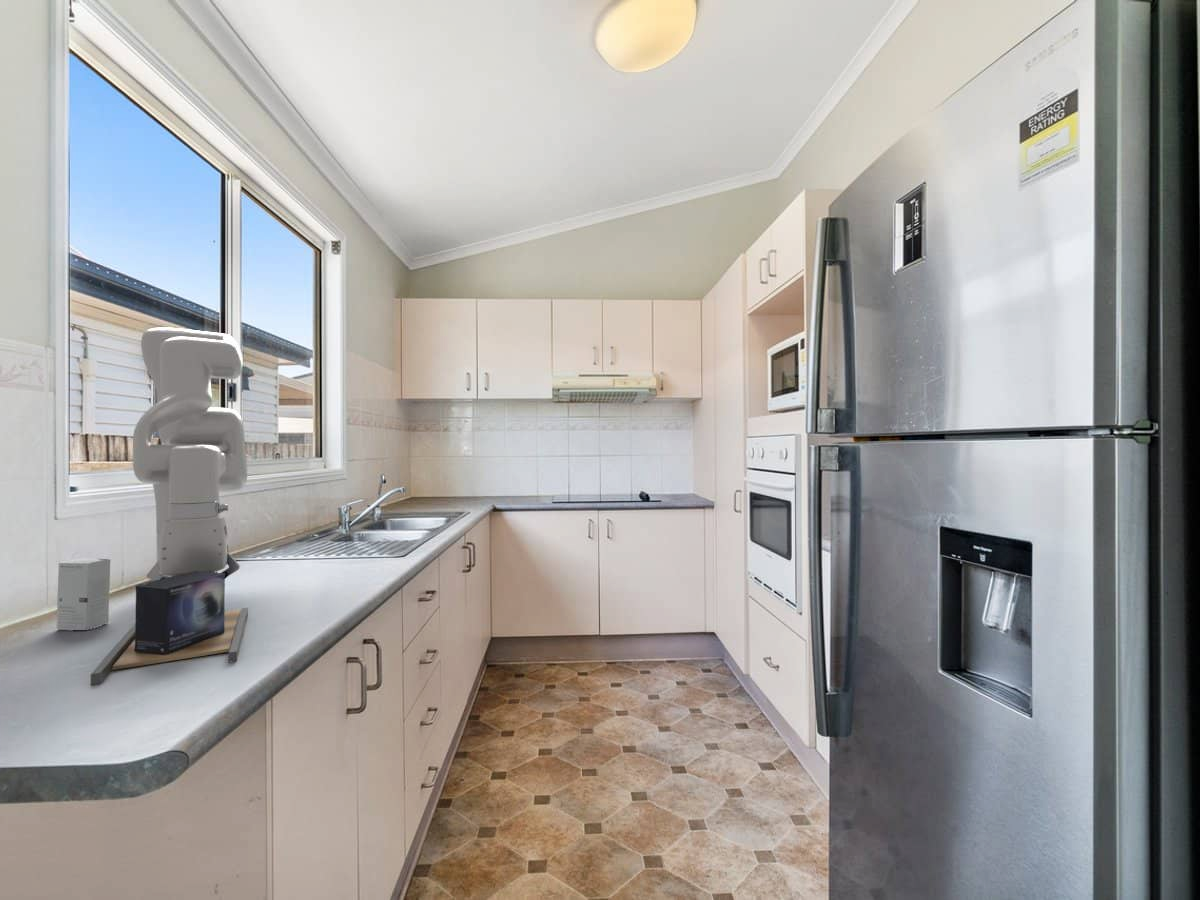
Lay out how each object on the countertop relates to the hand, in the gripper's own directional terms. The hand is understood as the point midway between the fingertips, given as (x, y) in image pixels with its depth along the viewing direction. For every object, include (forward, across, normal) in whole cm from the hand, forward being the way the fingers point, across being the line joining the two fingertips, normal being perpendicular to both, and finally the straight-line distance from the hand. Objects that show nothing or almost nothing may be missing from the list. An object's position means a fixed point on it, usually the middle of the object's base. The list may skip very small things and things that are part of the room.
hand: (195, 608), depth 102 cm
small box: (+2, 0, +15) cm, 15 cm away
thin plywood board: (+2, 0, +10) cm, 11 cm away
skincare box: (+2, +17, -6) cm, 18 cm away
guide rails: (+2, 0, +14) cm, 14 cm away
